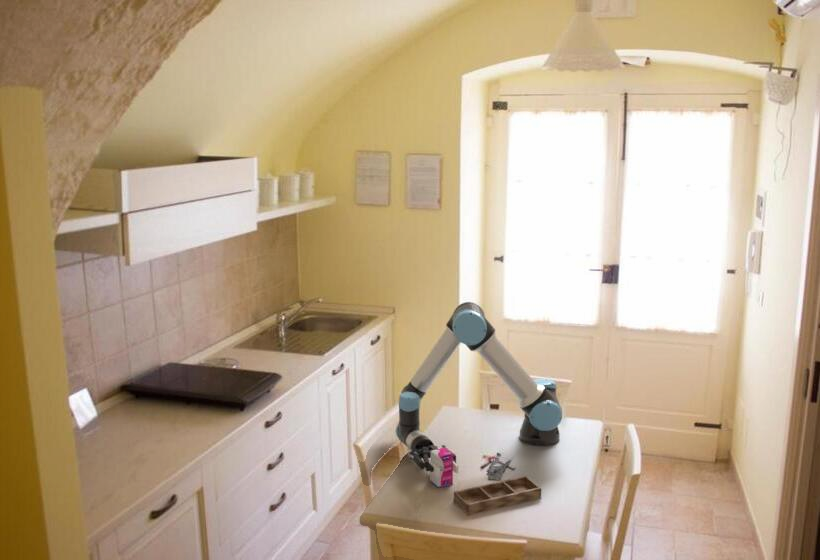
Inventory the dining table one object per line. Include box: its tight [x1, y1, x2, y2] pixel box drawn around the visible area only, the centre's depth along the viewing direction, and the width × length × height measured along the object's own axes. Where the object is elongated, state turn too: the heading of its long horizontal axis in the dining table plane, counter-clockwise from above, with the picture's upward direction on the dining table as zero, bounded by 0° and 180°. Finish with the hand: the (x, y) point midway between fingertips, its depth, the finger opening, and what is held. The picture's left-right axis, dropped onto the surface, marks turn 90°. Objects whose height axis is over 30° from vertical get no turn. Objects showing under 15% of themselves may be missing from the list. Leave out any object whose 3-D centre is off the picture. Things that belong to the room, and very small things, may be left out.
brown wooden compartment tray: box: [453, 475, 542, 516], centre depth 249 cm, size 27×10×4 cm, turn 113°
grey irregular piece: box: [486, 452, 512, 481], centre depth 272 cm, size 21×7×2 cm, turn 158°
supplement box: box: [429, 447, 454, 489], centre depth 260 cm, size 6×6×12 cm
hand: (448, 471), depth 255 cm, fingers closed on supplement box, 6 cm apart
